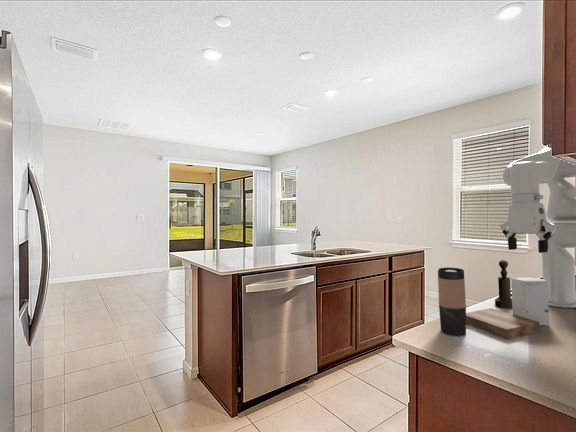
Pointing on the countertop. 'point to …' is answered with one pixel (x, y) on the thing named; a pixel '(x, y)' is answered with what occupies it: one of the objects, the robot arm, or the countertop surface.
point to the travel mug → (452, 301)
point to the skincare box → (530, 299)
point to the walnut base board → (501, 323)
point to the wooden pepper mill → (504, 288)
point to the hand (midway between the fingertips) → (527, 250)
